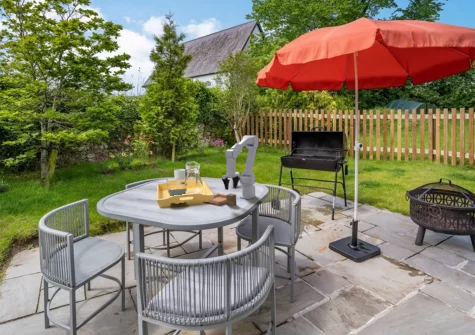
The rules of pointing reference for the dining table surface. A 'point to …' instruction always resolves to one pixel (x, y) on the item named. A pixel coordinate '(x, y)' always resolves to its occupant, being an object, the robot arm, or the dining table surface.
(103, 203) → the dining table surface
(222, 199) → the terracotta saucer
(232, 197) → the walnut block
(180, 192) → the food container
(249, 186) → the robot arm
